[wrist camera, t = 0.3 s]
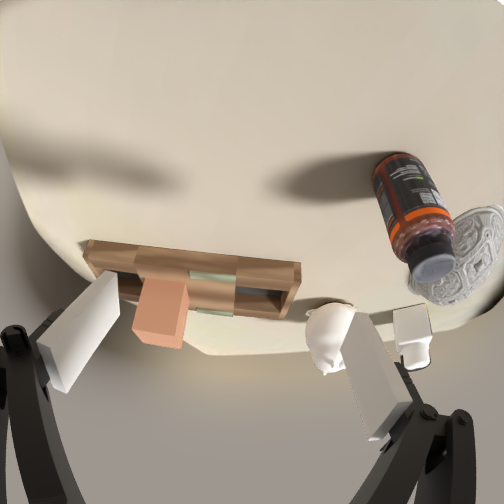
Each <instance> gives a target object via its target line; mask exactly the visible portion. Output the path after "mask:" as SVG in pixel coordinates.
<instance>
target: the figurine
mask: <svg viewBox="0 0 504 504" xmlns="http://www.w3.org/2000/svg"><path fill="white" fill-rule="evenodd" d="M355 312H361V311H360V310H359V309H358V308H357V307H352V306H351V305H349V304H341V303H328V304H325V305H323V306H321V307H319V308H318V309H312V310H308V311H307V312H306V314H305V315H306V316H310V317H309V319H308V321H307V324H306V329H305V337H306V343H307V346H308V347H309V349H310V351H311V354H312V360H313V362H314V364H315V365H316V366H317V368H319V369H320V370H322V371H323V375H326V374H327V372H336V371H338V370H341V369H345V368H346V367H345V364H344V361H343V358H342V355H341V352H340V348H341V345H342V343H343V341H344V338H345V336H346V334H347V331H348V329H349V326H350V324H351V321H352V319H353V316H354V314H355ZM309 314H311V315H309ZM325 372H326V373H325Z"/></svg>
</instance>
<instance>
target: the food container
mask: <svg viewBox="0 0 504 504" xmlns="http://www.w3.org/2000/svg"><path fill="white" fill-rule="evenodd" d="M453 224H454V227H455V239H454V242H453V244H452V249H453V253H454V255H455V258H456V265H455V267H454V269H453V270H452V271H451V272H450V273H449V274H448V275H446V276H445V277H443V278H441V279H439V280H437V281H434V282H429V283H419V282H416V281H415V280H413V278H412V276H411V274H410V279H409V281H410V283H409V285H408V289H409V291H410V292H411V293H413V294H415V295H422V296H423V297H425V298H426V299H427V300H429V301H431V302H432V303H435V304H437V305H442V306H444V305H449V304H451V305H454V304H456V303H457V302H459V301H461V300H463V299H465V298H468V297H469V295H470V294H472V293H473V292H474V290H475V289H476V288H477V287H478V285H479V284H480V283H481V282H482V281H483V280H485V279H486V278H487V276H488V275H489V273H490V271H491V269H492V267H493V266H494V265H495V263H496V260H497V258H498V256H499V252H500V248H501V245H502V241H503V239H502V235H503V234H504V210H503V208H502V207H500V205H493V206H487V207H480V208H474V209H471V210H469V211H467V212H465V213H463V214H462V215H460V216H459V217H457V218H456V219H454V220H453Z"/></svg>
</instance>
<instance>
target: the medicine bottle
mask: <svg viewBox="0 0 504 504" xmlns="http://www.w3.org/2000/svg"><path fill="white" fill-rule="evenodd" d="M393 327H394V335H395V342H396V352H397V353H400V356H401V365H402V366H403V367H404V368H405V369H406V370H407V372H412V371H417V370H421V369H424V368H426V367H427V366H428V365H430V363H431V359H430V352H429V346H428V345H429V343H430V341H431V338H432V330H431V324H430V319H429V314H428V309H427V305H426V303H424V304H420V305H415V306H411V307H406V308H402V309H397V310H394V311H393Z"/></svg>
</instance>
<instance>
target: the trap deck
mask: <svg viewBox="0 0 504 504" xmlns="http://www.w3.org/2000/svg"><path fill="white" fill-rule="evenodd" d="M83 258H84V260H85V261H86V263H87V264H88V266H89V267H90V269H91V271H92V272H93V274H94V275H95V277H96V278H98V277H99V276H100V275H101V274H102V273H103V272H104V271H105V270H106V271H110V272H115V273H117V279H118V296H119V299H123V300H128V301H134V302H139V299H140V295H141V291H142V288H143V284H144V281H145V277H146V278H153V279H161V280H168V281H176V282H184V283H185V284H186V288H187V292H188V296H189V301H190V302H189V307H188V310H194V311H197V313H205V314H213V315H221V316H230V317H233V315H236V316H246V317H257V318H268V319H280V320H284V318H285V316H286V314H287V312H288V310H289V307H290V305H291V303H292V301H293V299H294V297H295V295H296V293H297V291H298V288H299V286H300V284H301V263H298V262H288V261H278V260H269V259H259V258H250V257H241V256H231V255H222V254H213V253H203V252H194V251H185V250H176V249H167V248H158V247H149V246H140V245H131V244H122V243H114V242H105V241H96V240H89V242H88V244H87V247H86V249H85V251H84V253H83ZM235 291H236V292H235Z"/></svg>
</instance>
